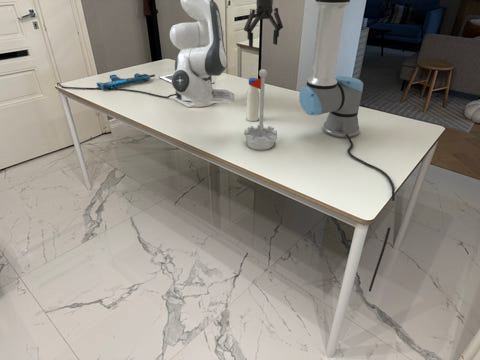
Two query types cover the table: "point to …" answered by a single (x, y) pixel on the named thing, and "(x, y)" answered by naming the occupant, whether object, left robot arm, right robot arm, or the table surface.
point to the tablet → (168, 78)
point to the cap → (252, 80)
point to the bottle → (252, 104)
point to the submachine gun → (124, 81)
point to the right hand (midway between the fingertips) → (263, 45)
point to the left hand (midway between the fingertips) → (217, 101)
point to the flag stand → (260, 122)
